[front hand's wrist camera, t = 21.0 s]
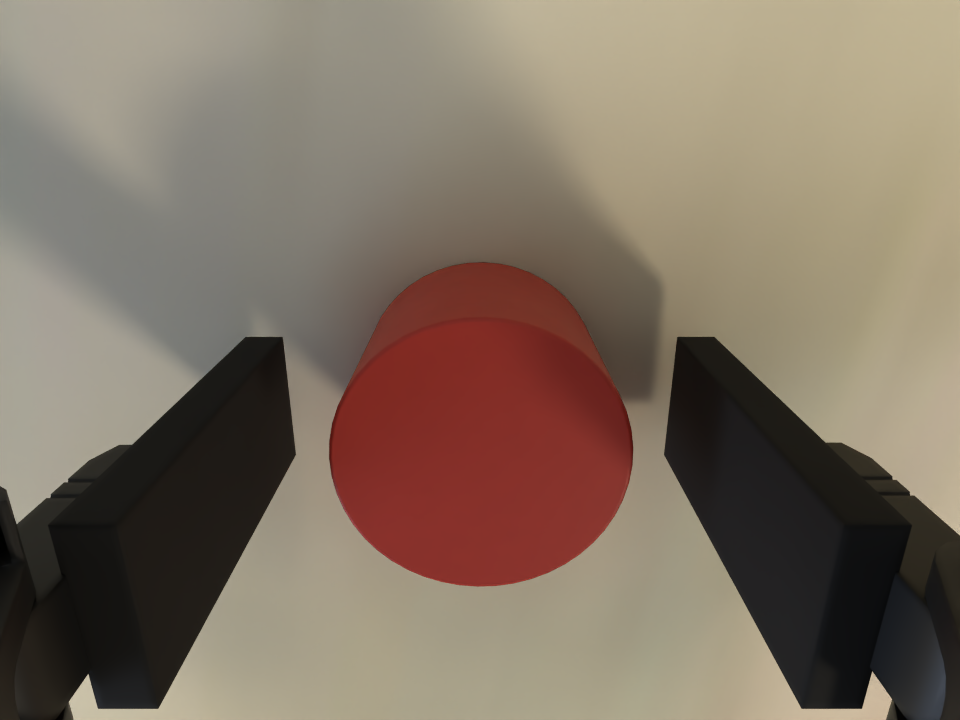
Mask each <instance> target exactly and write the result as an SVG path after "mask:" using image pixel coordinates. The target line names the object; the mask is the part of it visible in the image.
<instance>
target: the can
mask: <svg viewBox="0 0 960 720" xmlns="http://www.w3.org/2000/svg"><path fill="white" fill-rule="evenodd" d="M329 460H330V468H331V475H332V479H333V482H334V486H335V489H336V493H337V495H338V497H339V499H340V502H341V504H342V506H343V508H344V510H345V512H346V514H347V515H348V517H349V518H350V520H351V522H352V523H353V525H354V526H355V527H356V528H357V530H358V531H359V532H360V533H361V534H362V536H363V537H364V538H365V539H366V540H367V541H368V542H369V543H370V544H371V545H372V546H373V547H375V548H376V549H377V550H378V551H379V552H380V553H382V554H383V555H385V556H386V557H387V558H389V559H390V560H391V561H393V562H395V563H397V564H398V565H400V566H402V567H404V568H405V569H407V570H410V571H412V572H414V573H417V574H419V575H421V576H424V577H427V578H430V579H434V580H437V581H440V582H445V583H451V584H456V585H465V586H498V585H505V584H513V583H517V582H521V581H525V580H529V579H532V578H535V577H538V576H540V575H543V574H546V573H548V572H550V571H552V570H554V569H556V568H558V567H560V566H562V565H564V564H566V563H567V562H569V561H570V560H572V559H573V558H575V557H576V556H578V555H579V554H581V553H582V552H583V551H584V550H585V549H586V548H588V547H589V546H590V545H591V544H592V543H593V542H594V541H595V540H596V539H597V538H598V537H599V536H600V535H601V534H602V532H603V531H604V530H605V529H606V527H607V526H608V525H609V523H610V522H611V520H612V519H613V517H614V516H615V514H616V512H617V510H618V508H619V506H620V504H621V503H622V501H623V498H624V495H625V492H626V490H627V487H628V484H629V480H630V475H631V470H632V463H633V440H632V431H631V426H630V422H629V418H628V415H627V411H626V409H625V407H624V404H623V402H622V399H621V397H620V395H619V393H618V391H617V389H616V387H615V385H614V383H613V381H612V379H611V377H610V375H609V373H608V371H607V369H606V367H605V365H604V363H603V361H602V359H601V357H600V355H599V353H598V351H597V349H596V347H595V345H594V343H593V341H592V339H591V337H590V335H589V333H588V331H587V329H586V327H585V325H584V323H583V321H582V319H581V318H580V316H579V314H578V313H577V311H576V310H575V308H574V307H573V306H572V305H571V303H570V302H569V301H568V300H567V299H566V298H565V297H564V296H563V295H562V294H561V293H560V292H559V291H558V290H557V289H556V288H554V287H553V286H551V285H550V284H549V283H547V282H546V281H544V280H543V279H541V278H539V277H537V276H535V275H533V274H531V273H529V272H527V271H524V270H521V269H518V268H516V267H512V266H507V265H503V264H496V263H485V262H482V263H466V264H460V265H454V266H450V267H447V268H444V269H440V270H437V271H435V272H433V273H431V274H429V275H426V276H424V277H422V278H421V279H419V280H418V281H416V282H415V283H413V284H411V285H410V286H409V287H408V288H406V289H405V290H404V291H403V292H402V293H400V294H399V295H398V296H397V298H396V299H395V300H394V301H393V302H392V303H391V304H390V305H389V307H388V308H387V309H386V311H385V312H384V314H383V315H382V317H381V318H380V321H379V323H378V325H377V327H376V329H375V331H374V333H373V335H372V337H371V339H370V341H369V343H368V345H367V347H366V349H365V351H364V353H363V355H362V357H361V359H360V361H359V363H358V366H357V368H356V370H355V372H354V374H353V376H352V378H351V380H350V382H349V384H348V386H347V388H346V390H345V392H344V394H343V396H342V398H341V400H340V402H339V404H338V407H337V410H336V413H335V416H334V419H333V423H332V428H331V434H330V441H329Z"/></svg>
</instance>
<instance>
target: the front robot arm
mask: <svg viewBox="0 0 960 720" xmlns="http://www.w3.org/2000/svg"><path fill="white" fill-rule="evenodd" d="M295 455H296V452H295V443H294V434H293V425H292V416H291V407H290V398H289V389H288V380H287V371H286V362H285V353H284V344H283V337H245V338H244V339H243V340H242V341H241V342H240V343H239V344H238V345H237V346H236V347H235V348H234V349H233V350H232V351H231V352H229V353H228V354H227V355H226V356H225V357H224V358H223V359H222V360H221V361H220V362H219V363H218V364H217V365H216V366H215V367H214V368H213V369H212V370H211V371H209V372H208V373H207V374H206V375H205V376H204V377H203V378H202V379H201V380H200V381H199V382H198V383H197V384H196V385H195V386H194V387H193V388H192V389H191V390H189V391H188V392H187V393H186V394H185V395H184V396H183V397H182V398H181V399H180V400H179V401H178V402H177V403H176V404H175V405H174V406H173V407H172V408H170V409H169V410H168V411H167V412H166V413H165V414H164V415H163V416H162V417H161V418H160V419H159V420H158V421H157V422H156V423H155V424H154V425H153V426H152V427H150V428H149V429H148V430H147V431H146V432H145V433H144V434H143V435H142V436H141V437H140V438H139V439H138V440H137V441H136V442H135V443H134V444H133V445H118V446H116V447H114V448H112V449H110V450H109V451H107V452H105V453H103V454H101V455H99V456H97V457H95V458H93V459H91V460H89V461H88V462H87V463H86V464H85V465H83V466H82V467H81V468H80V469H79V470H78V471H77V472H76V473H74V474H73V475H72V476H71V477H70V478H69V479H68V483H63V484H62V485H61V486H60V487H59V488H57V489H56V490H55V491H54V492H53V493H52V494H51V498H46V499H45V500H44V501H43V502H42V503H40V504H39V505H38V506H37V507H36V508H35V509H34V510H33V511H31V512H30V513H29V514H28V515H27V516H26V517H25V518H24V519H22V520H21V521H20V522H19V523H18V524H17V525H16V521H15V518H14V514H13V511H12V508H11V504H10V501H9V497H8V494H7V491H6V489H4V488H2V487H1V486H0V720H73V715H72V712H71V708H70V705H69V700H70V699H71V698H72V696H73V695H74V693H75V692H76V690H77V689H78V688H79V686H80V685H81V683H82V682H83V680H84V679H85V678H86V676H87V675H88V674H89V677H90V681H91V685H92V688H93V692H94V696H95V699H96V703H97V706H98V709H158V708H159V706H160V705H161V703H162V701H163V699H164V697H165V695H166V694H167V692H168V690H169V688H170V686H171V684H172V682H173V681H174V679H175V677H176V675H177V673H178V671H179V669H180V668H181V666H182V664H183V662H184V660H185V658H186V657H187V655H188V653H189V651H190V649H191V647H192V645H193V644H194V642H195V640H196V638H197V636H198V634H199V633H200V631H201V629H202V627H203V625H204V623H205V621H206V620H207V618H208V616H209V614H210V612H211V610H212V609H213V607H214V605H215V603H216V601H217V599H218V597H219V596H220V594H221V592H222V590H223V588H224V586H225V585H226V583H227V581H228V579H229V577H230V575H231V573H232V572H233V570H234V568H235V566H236V564H237V562H238V561H239V559H240V557H241V555H242V553H243V551H244V549H245V548H246V546H247V544H248V542H249V540H250V538H251V537H252V535H253V533H254V531H255V529H256V527H257V525H258V524H259V522H260V520H261V518H262V516H263V514H264V513H265V511H266V509H267V507H268V505H269V503H270V501H271V500H272V498H273V496H274V494H275V492H276V490H277V489H278V487H279V485H280V483H281V481H282V479H283V477H284V476H285V474H286V472H287V470H288V468H289V466H290V465H291V463H292V461H293V459H294V457H295ZM664 455H665V457H666V459H667V461H668V463H669V465H670V466H671V468H672V470H673V472H674V474H675V476H676V477H677V479H678V481H679V483H680V485H681V487H682V489H683V490H684V492H685V494H686V496H687V498H688V500H689V501H690V503H691V505H692V507H693V509H694V511H695V513H696V514H697V516H698V518H699V520H700V522H701V524H702V525H703V527H704V529H705V531H706V533H707V535H708V537H709V538H710V540H711V542H712V544H713V546H714V548H715V550H716V551H717V553H718V555H719V557H720V559H721V561H722V562H723V564H724V566H725V568H726V570H727V572H728V574H729V575H730V577H731V579H732V581H733V583H734V585H735V586H736V588H737V590H738V592H739V594H740V596H741V598H742V599H743V601H744V603H745V605H746V607H747V609H748V610H749V612H750V614H751V616H752V618H753V620H754V622H755V623H756V625H757V627H758V629H759V631H760V633H761V634H762V636H763V638H764V640H765V642H766V644H767V646H768V647H769V649H770V651H771V653H772V655H773V657H774V658H775V660H776V662H777V664H778V666H779V668H780V670H781V671H782V673H783V675H784V677H785V679H786V681H787V682H788V684H789V686H790V688H791V690H792V692H793V694H794V695H795V697H796V699H797V701H798V703H799V705H800V706H801V708H802V709H862V706H863V703H864V699H865V695H866V692H867V688H868V685H869V681H870V677H871V674H872V671H873V673H874V674H875V675H876V677H877V678H878V680H879V681H880V683H881V684H882V685H883V687H884V688H885V690H886V691H887V692H888V694H889V695H890V697H891V698H892V702H891V705H890V708H889V712H888V715H887V719H886V720H960V535H958V534H957V533H956V532H955V531H954V530H953V529H952V528H950V527H949V526H948V525H947V524H946V523H945V522H944V521H942V520H941V519H940V518H939V517H938V516H937V515H936V514H935V513H933V512H932V511H931V510H930V509H929V508H928V507H927V506H925V505H924V504H923V503H922V502H921V501H920V500H919V499H917V498H916V497H915V496H910V492H909V491H908V490H907V489H906V488H905V487H904V486H903V485H901V484H900V483H899V482H898V481H897V480H893V479H892V476H891V475H890V474H889V473H888V472H887V471H886V470H884V469H883V468H882V467H881V466H880V465H879V464H878V463H876V462H875V461H874V460H873V459H872V458H870V457H868V456H866V455H864V454H862V453H860V452H858V451H856V450H854V449H853V448H851V447H849V446H847V445H845V444H843V443H825V442H824V441H823V440H822V439H821V438H820V437H819V436H818V435H817V434H816V433H815V432H814V431H813V430H812V429H811V428H810V427H808V426H807V425H806V424H805V423H804V422H803V421H802V420H801V419H800V418H799V417H798V416H797V415H796V414H795V413H794V412H793V411H792V410H791V409H789V408H788V407H787V406H786V405H785V404H784V403H783V402H782V401H781V400H780V399H779V398H778V397H777V396H776V395H775V394H774V393H773V392H772V391H771V390H769V389H768V388H767V387H766V386H765V385H764V384H763V383H762V382H761V381H760V380H759V379H758V378H757V377H756V376H755V375H754V374H753V373H752V372H751V371H749V370H748V369H747V368H746V367H745V366H744V365H743V364H742V363H741V362H740V361H739V360H738V359H737V358H736V357H735V356H734V355H733V354H732V353H731V352H729V351H728V350H727V349H726V348H725V347H724V346H723V345H722V344H721V343H720V342H719V341H718V340H717V339H716V338H715V337H677V344H676V353H675V362H674V371H673V380H672V389H671V398H670V407H669V416H668V425H667V434H666V443H665V452H664Z"/></svg>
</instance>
